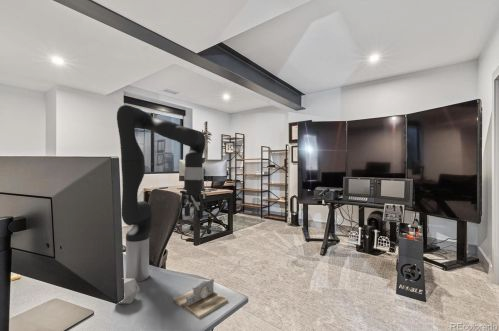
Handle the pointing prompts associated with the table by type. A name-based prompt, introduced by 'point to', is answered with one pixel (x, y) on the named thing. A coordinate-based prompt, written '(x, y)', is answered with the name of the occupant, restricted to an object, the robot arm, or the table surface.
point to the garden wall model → (197, 292)
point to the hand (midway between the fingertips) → (193, 217)
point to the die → (130, 290)
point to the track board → (201, 303)
